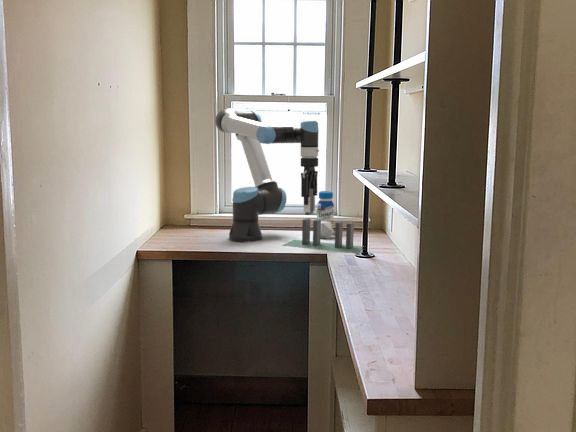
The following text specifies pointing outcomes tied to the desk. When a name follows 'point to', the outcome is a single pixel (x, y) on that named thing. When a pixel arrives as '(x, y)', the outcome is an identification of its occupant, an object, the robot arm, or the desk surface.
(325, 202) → the beverage bottle
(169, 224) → the desk surface
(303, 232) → the domino
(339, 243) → the domino
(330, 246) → the mat
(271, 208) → the robot arm
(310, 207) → the domino
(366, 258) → the desk surface
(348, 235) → the domino
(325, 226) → the die
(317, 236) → the domino
